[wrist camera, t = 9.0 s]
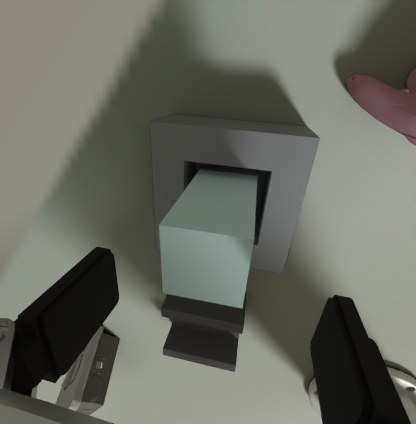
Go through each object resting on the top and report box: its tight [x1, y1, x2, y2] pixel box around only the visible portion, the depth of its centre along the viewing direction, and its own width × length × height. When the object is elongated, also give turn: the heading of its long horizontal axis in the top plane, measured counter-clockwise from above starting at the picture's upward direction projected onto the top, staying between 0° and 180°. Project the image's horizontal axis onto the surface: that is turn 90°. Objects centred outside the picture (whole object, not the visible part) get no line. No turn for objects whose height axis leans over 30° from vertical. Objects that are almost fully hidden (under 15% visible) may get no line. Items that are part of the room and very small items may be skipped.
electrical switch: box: [55, 326, 120, 415], centre depth 32 cm, size 9×5×9 cm, turn 143°
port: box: [150, 114, 320, 274], centre depth 18 cm, size 10×10×5 cm
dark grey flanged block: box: [161, 292, 246, 372], centre depth 26 cm, size 8×8×4 cm
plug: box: [159, 163, 259, 309], centre depth 15 cm, size 4×4×10 cm
